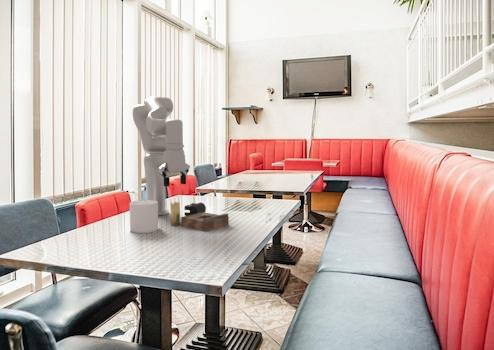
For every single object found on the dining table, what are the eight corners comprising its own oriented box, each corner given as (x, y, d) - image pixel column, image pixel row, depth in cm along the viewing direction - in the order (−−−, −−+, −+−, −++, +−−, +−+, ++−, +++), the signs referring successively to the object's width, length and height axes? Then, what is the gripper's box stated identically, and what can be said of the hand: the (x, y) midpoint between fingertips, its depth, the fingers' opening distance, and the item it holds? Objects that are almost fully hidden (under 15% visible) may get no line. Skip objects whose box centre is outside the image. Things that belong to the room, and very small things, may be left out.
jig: (181, 225, 173) (181, 214, 172) (203, 220, 183) (203, 209, 183) (206, 231, 163) (206, 219, 162) (228, 225, 173) (228, 214, 173)
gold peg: (169, 224, 175) (168, 203, 174) (176, 223, 178) (175, 201, 177) (175, 226, 172) (174, 204, 171) (181, 224, 175) (181, 202, 174)
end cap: (197, 219, 186) (196, 206, 185) (184, 218, 188) (183, 205, 187) (206, 215, 195) (206, 202, 194) (193, 214, 197) (193, 201, 197)
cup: (163, 227, 169) (162, 200, 168) (148, 234, 158) (147, 205, 157) (140, 225, 173) (140, 199, 172) (124, 231, 162) (123, 203, 161)
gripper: (183, 146, 181) (184, 182, 182) (153, 147, 167) (154, 186, 169) (194, 147, 176) (194, 183, 178) (164, 148, 162) (165, 187, 164)
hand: (175, 185), depth 173 cm, fingers open, 9 cm apart
